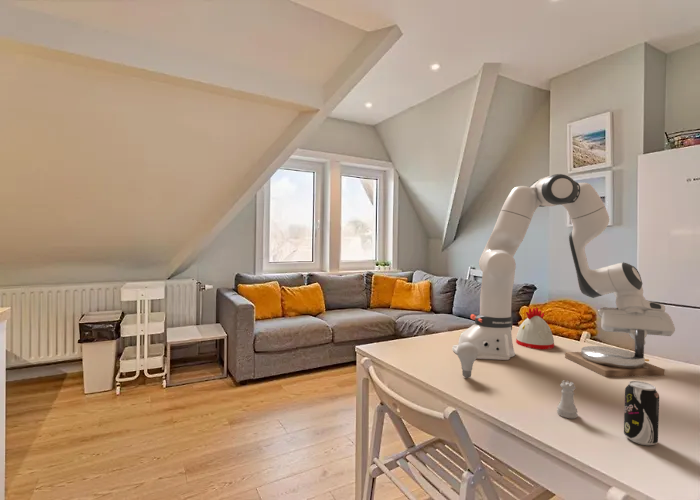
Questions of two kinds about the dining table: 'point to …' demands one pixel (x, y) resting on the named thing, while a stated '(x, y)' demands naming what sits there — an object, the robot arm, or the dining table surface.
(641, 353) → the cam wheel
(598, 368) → the stand
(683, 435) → the dining table surface
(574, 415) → the rook chess piece
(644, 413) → the beverage can
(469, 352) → the lightbulb
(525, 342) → the kitchen timer
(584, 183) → the robot arm
